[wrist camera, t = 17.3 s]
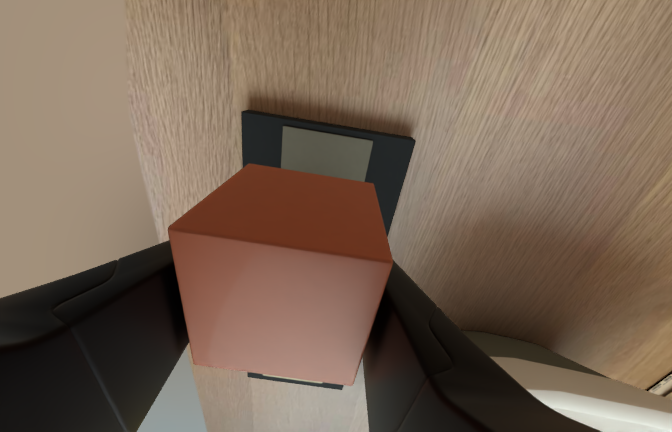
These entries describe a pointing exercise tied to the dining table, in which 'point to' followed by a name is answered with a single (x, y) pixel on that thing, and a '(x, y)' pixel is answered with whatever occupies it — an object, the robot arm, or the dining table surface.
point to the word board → (328, 163)
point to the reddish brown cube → (282, 273)
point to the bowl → (577, 387)
